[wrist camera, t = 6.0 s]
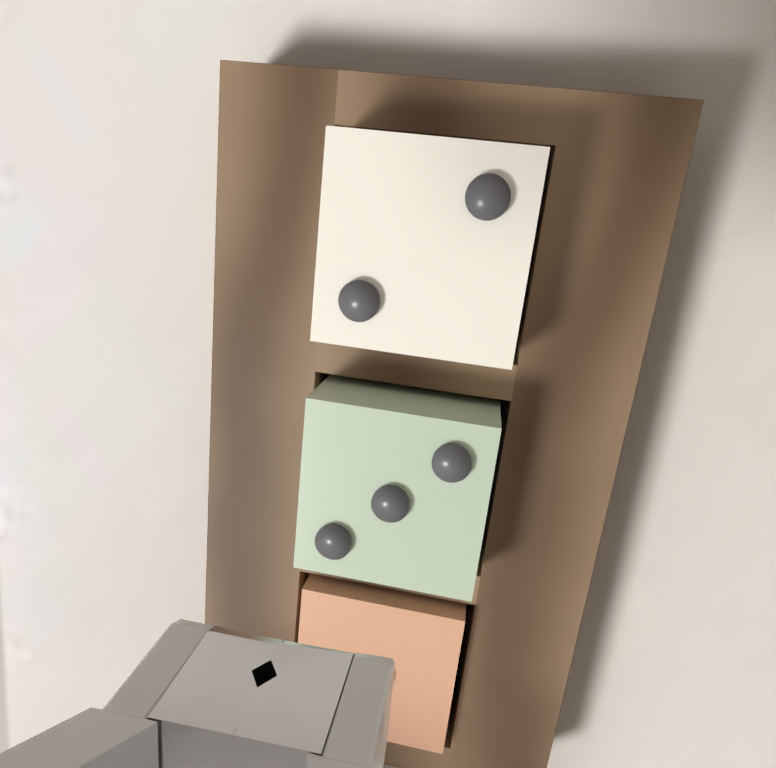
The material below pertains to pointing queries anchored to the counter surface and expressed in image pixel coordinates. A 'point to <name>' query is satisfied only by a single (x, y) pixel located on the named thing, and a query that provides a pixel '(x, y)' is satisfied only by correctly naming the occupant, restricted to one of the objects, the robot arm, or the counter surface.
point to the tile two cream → (425, 244)
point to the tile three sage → (396, 484)
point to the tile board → (442, 363)
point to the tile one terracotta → (393, 647)
